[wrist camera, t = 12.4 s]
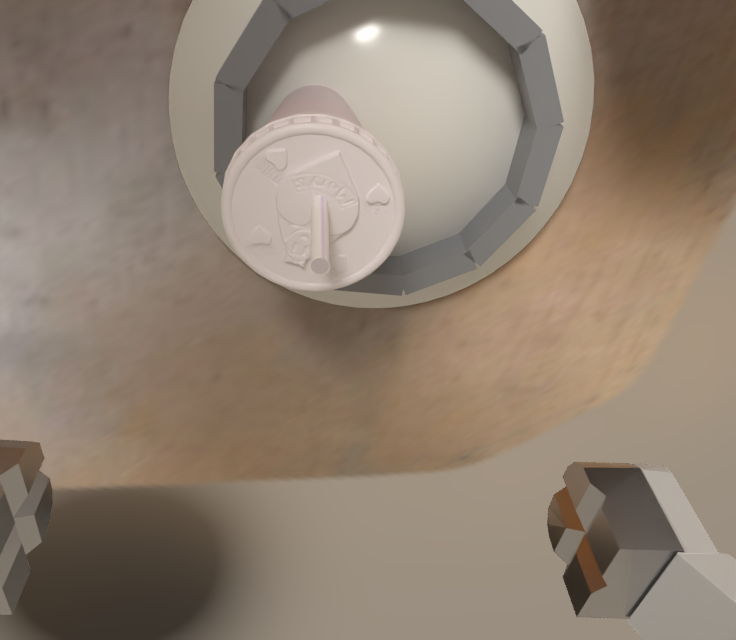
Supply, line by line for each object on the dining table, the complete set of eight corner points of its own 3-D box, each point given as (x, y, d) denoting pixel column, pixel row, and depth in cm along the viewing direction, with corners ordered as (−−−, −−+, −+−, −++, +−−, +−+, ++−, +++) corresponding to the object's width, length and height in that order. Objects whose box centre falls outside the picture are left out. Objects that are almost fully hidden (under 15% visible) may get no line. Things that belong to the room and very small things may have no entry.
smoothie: (405, 86, 28) (464, 223, 17) (352, 207, 32) (371, 390, 20) (270, 28, 27) (234, 137, 15) (229, 162, 30) (173, 335, 18)
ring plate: (162, -166, 23) (143, -171, 21) (653, -80, 26) (688, -76, 24) (179, 283, 35) (169, 313, 32) (520, 311, 37) (535, 341, 35)
